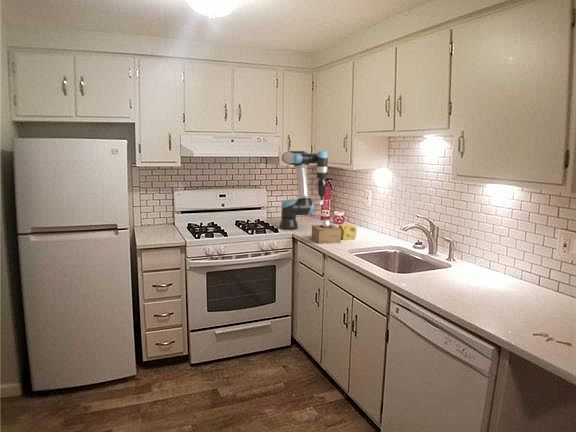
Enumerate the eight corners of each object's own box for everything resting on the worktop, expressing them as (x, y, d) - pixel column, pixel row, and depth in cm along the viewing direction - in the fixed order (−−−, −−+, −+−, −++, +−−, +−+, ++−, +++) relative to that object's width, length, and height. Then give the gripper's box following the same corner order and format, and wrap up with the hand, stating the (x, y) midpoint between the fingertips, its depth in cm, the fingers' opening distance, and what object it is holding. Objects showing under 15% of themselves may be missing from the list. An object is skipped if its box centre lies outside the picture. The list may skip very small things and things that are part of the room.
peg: (321, 231, 305) (322, 219, 304) (328, 231, 306) (328, 219, 305) (323, 233, 301) (324, 220, 299) (330, 232, 302) (330, 220, 300)
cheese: (343, 240, 307) (343, 226, 305) (337, 237, 317) (337, 224, 315) (356, 239, 310) (356, 226, 308) (350, 236, 320) (350, 223, 318)
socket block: (311, 238, 311) (311, 224, 310) (332, 237, 315) (332, 223, 313) (318, 243, 294) (319, 229, 292) (340, 243, 298) (341, 228, 296)
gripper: (314, 171, 315) (313, 203, 319) (319, 173, 303) (318, 205, 307) (324, 171, 317) (323, 203, 321) (329, 173, 305) (328, 205, 308)
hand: (321, 204), depth 314 cm, fingers closed
